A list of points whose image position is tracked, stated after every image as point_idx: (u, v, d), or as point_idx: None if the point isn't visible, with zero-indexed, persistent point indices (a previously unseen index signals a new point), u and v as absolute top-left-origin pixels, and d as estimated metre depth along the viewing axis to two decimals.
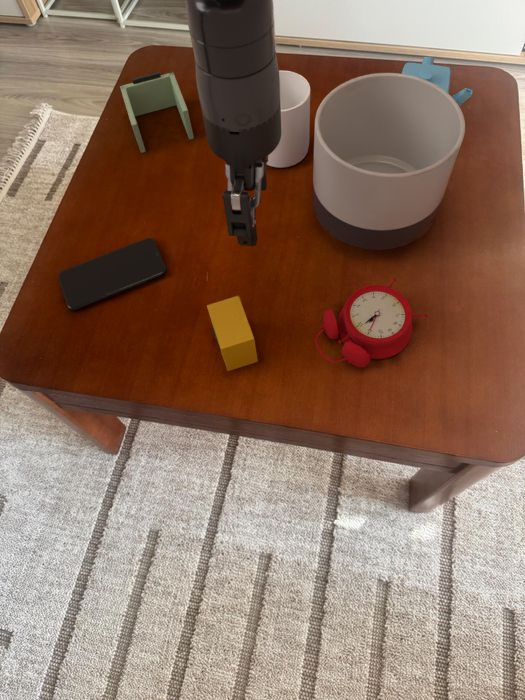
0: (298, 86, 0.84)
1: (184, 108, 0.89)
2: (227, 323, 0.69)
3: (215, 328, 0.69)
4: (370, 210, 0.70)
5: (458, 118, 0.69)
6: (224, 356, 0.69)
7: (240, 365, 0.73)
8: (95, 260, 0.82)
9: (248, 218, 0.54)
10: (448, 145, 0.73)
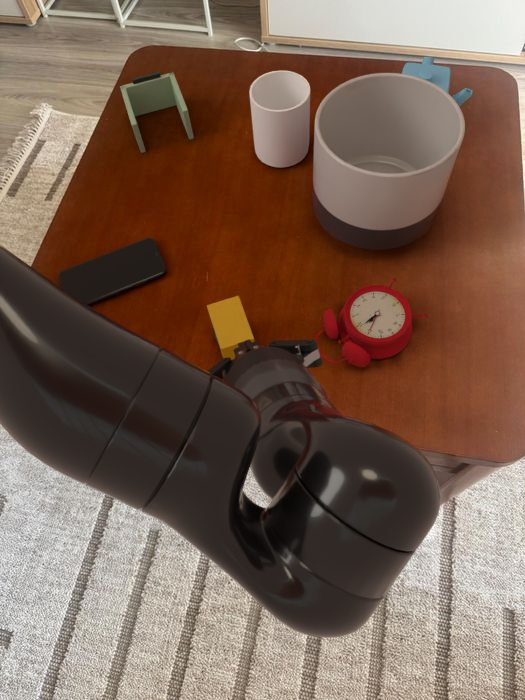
0: (298, 86, 0.84)
1: (184, 108, 0.89)
2: (227, 323, 0.69)
3: (215, 328, 0.69)
4: (370, 210, 0.70)
5: (458, 118, 0.69)
6: (224, 356, 0.69)
7: None
8: (95, 260, 0.82)
9: None
10: (448, 144, 0.73)
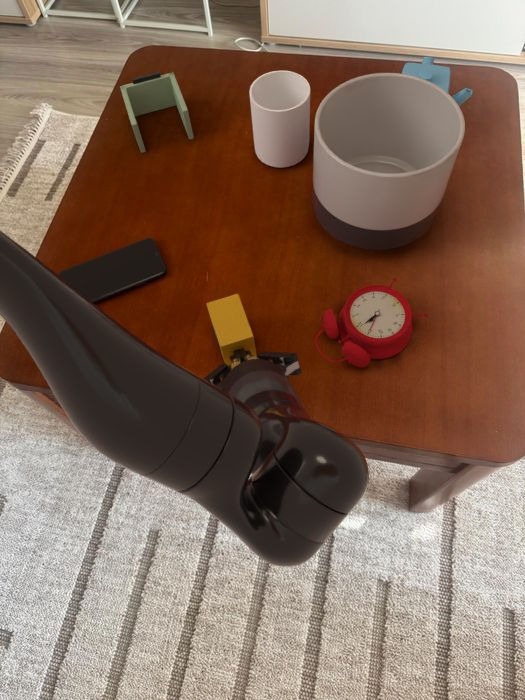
0: (298, 86, 0.84)
1: (184, 108, 0.89)
2: (226, 321, 0.69)
3: (214, 326, 0.69)
4: (370, 210, 0.70)
5: (458, 118, 0.69)
6: (223, 354, 0.69)
7: None
8: (95, 260, 0.82)
9: None
10: (448, 144, 0.73)
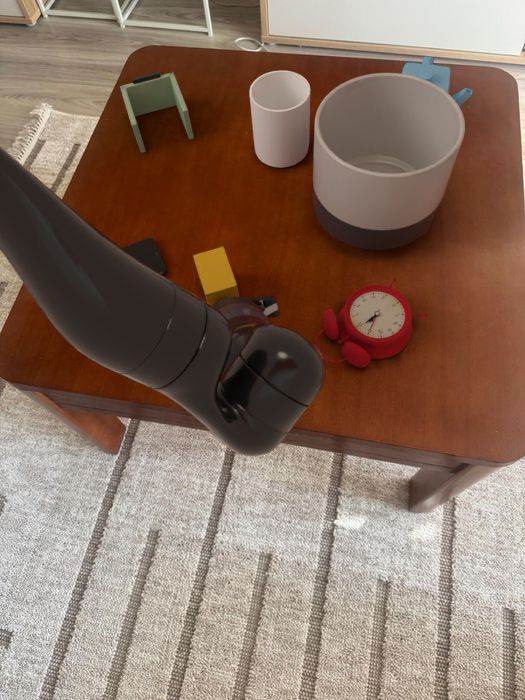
0: (298, 86, 0.84)
1: (184, 108, 0.89)
2: (211, 271, 0.73)
3: (200, 276, 0.72)
4: (370, 210, 0.70)
5: (458, 118, 0.69)
6: (209, 303, 0.73)
7: None
8: None
9: None
10: (448, 144, 0.73)
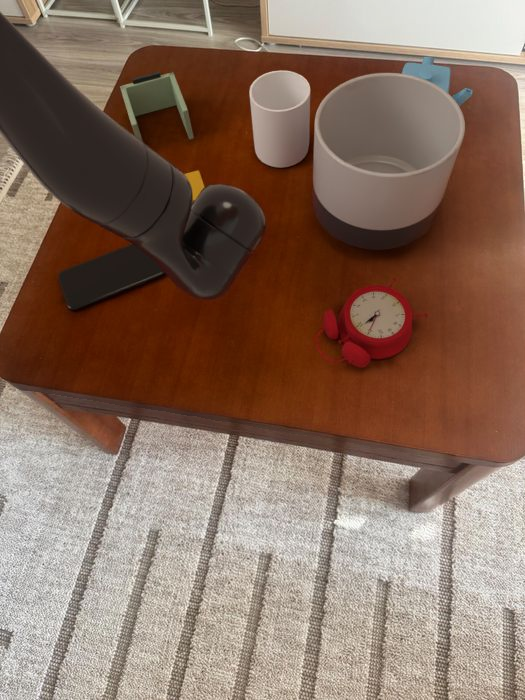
0: (298, 86, 0.84)
1: (184, 108, 0.89)
2: None
3: None
4: (370, 210, 0.70)
5: (457, 118, 0.69)
6: None
7: None
8: (95, 260, 0.82)
9: None
10: (448, 144, 0.73)
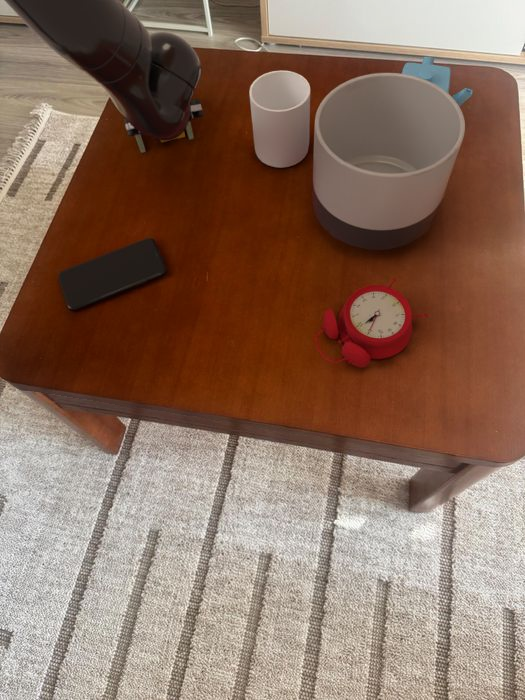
0: (298, 86, 0.84)
1: None
2: None
3: None
4: (370, 210, 0.70)
5: (458, 118, 0.69)
6: None
7: None
8: (95, 260, 0.82)
9: (138, 134, 0.84)
10: (448, 144, 0.73)
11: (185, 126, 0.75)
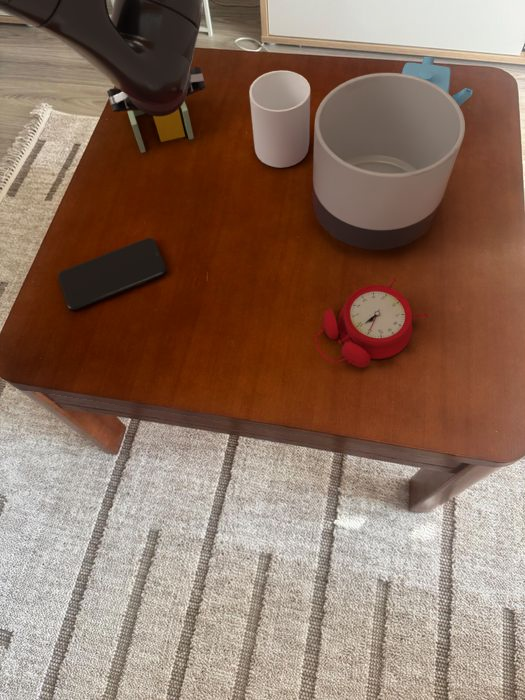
0: (298, 86, 0.84)
1: (184, 108, 0.89)
2: None
3: None
4: (370, 210, 0.70)
5: (458, 118, 0.69)
6: (155, 120, 0.90)
7: (170, 137, 0.94)
8: (95, 260, 0.82)
9: (126, 110, 0.69)
10: (448, 144, 0.73)
11: (184, 97, 0.60)
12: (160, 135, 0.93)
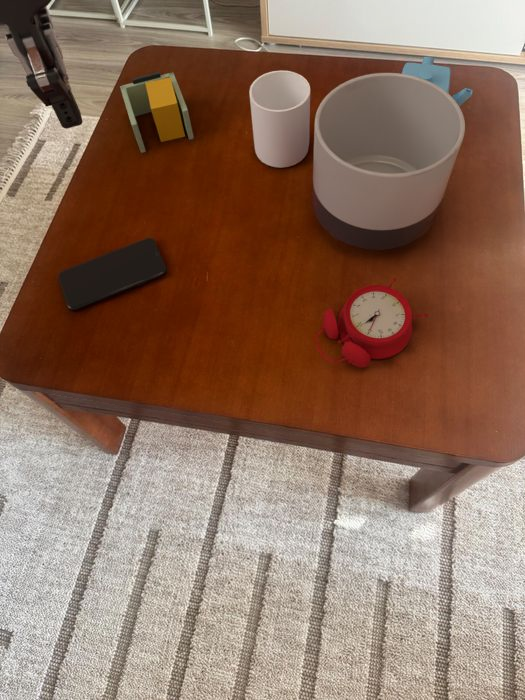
0: (298, 86, 0.84)
1: (184, 108, 0.89)
2: (158, 93, 0.90)
3: (149, 96, 0.90)
4: (370, 210, 0.70)
5: (458, 118, 0.69)
6: (155, 120, 0.90)
7: (170, 137, 0.94)
8: (95, 260, 0.82)
9: (64, 91, 0.47)
10: (448, 144, 0.73)
11: None
12: (160, 135, 0.93)
